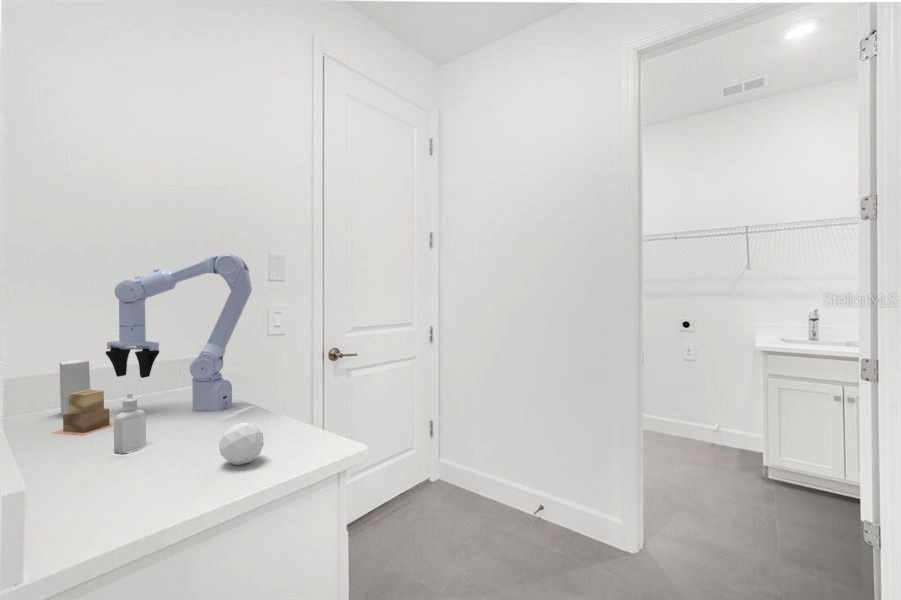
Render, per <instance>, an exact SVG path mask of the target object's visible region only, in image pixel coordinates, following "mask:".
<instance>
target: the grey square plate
mask: <svg viewBox="0 0 901 600" xmlns="http://www.w3.org/2000/svg"><path fill="white" fill-rule="evenodd" d="M112 427H113V428H114V422H110V425H109V426H105V427H102V428H99V429H96V430H92V431H89V432H86V433H78V432H66V431H63V429H59V430H56V431H53V432H51V434H57V435H69V436H81V437H83V436H86V435H87V436H88V435H91V434H93V433H97V432H99V431H102V430H106V429H109V428H112Z"/></svg>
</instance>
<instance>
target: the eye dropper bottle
mask: <svg viewBox="0 0 901 600" xmlns="http://www.w3.org/2000/svg"><path fill="white" fill-rule="evenodd" d="M146 419H147V415H146V412H145V411H144V410H143V409H138V398H135V397H134V396H133V393H132V392H128V393H127V396H126V398H125V399H123V400H122V411H120V413H118V414H117V415H116V416H114V418H113V423H114V426H113V453H114V454H115V455H121V456H122V455H124V456H125V455H127V454H129V452H126V451H130V450H134V449H135V450H134V451H131V452H130V453H134V452H139V451H140V450H142V449H143V447H142V446H144V445H146V444H147V420H146ZM140 447H141V448H140ZM137 448H139V449H137Z"/></svg>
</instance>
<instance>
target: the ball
mask: <svg viewBox="0 0 901 600" xmlns="http://www.w3.org/2000/svg"><path fill="white" fill-rule="evenodd" d="M264 444H265V442H264V433H263V432H262V431H261V429H259V427H258V426H257V425H256V424H252V423H249V422H246V421H245V422H241V423H237V424H234V425H231V427H229V428H228V429H227V430H225V431H223V434H222V436H221V438H220V440H219V442H218V445H219V453H220V455H221V456H222V458H223V459H224V460H225V461H227V463H230V464H233V465H236V466H240V465H241V466H242V465H245V464H248V463H250V462H252V461H253V460H255V459H256V458H257V457H258V456H260V455H261V452H262V449H263V447H264Z"/></svg>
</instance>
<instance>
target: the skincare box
mask: <svg viewBox="0 0 901 600" xmlns="http://www.w3.org/2000/svg"><path fill="white" fill-rule="evenodd" d="M90 374H91V373H90V361H89V360H88V359H87V358H82V359H81V358H80V359H74V360H73V359H72V360H64V361H59V395H60V396H59V397H60V399H59V400H60V413H61V416H62V417H63V414H65V413H69V394H71V393H76V392H80V391H85V390H91V381H90V380H91V377H90V376H91V375H90Z"/></svg>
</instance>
